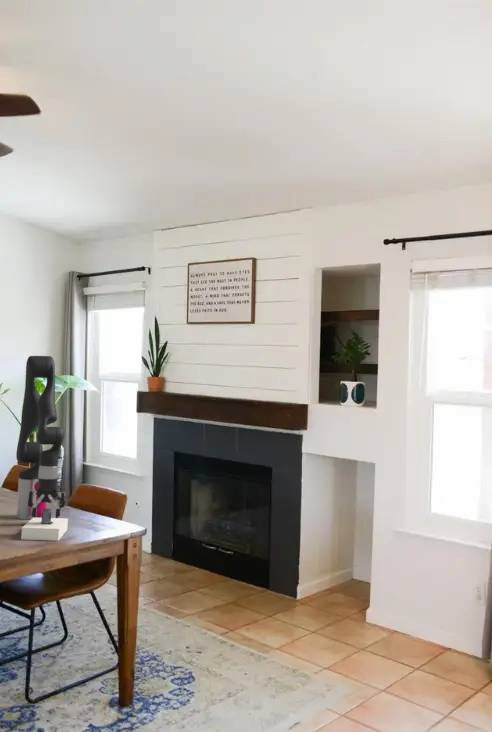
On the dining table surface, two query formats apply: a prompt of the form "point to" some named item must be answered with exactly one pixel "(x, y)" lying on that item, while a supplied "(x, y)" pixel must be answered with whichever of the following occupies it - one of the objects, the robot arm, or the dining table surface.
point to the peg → (46, 516)
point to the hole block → (44, 529)
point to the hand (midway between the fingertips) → (46, 517)
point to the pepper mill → (40, 505)
